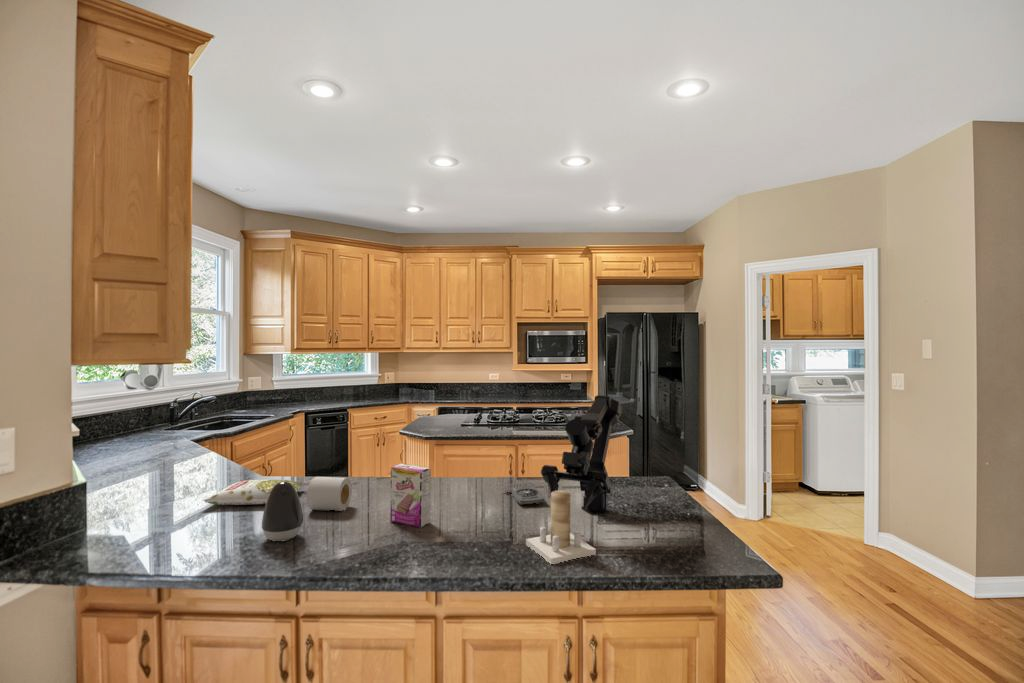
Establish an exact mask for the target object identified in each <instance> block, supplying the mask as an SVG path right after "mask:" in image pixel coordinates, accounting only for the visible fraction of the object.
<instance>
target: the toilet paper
mask: <svg viewBox="0 0 1024 683" xmlns="http://www.w3.org/2000/svg"><path fill="white" fill-rule="evenodd" d="M306 491H307V492H306V504H307V507H308V509H310V510H311V509H313V510H315V511H330V510H335V512H343V511H342V510H344V509H345V508H346V507H347V508H348V507H349V506H350V502H351V500H352V499H351V498H352V492H353V487H352V481H351V479H350V478H348V477H337V476H336V477H334V476H333V477H332V476H315V477H313V478H312V479H311V480H310V482H309V485H308V488H307V490H306ZM313 510H312V511H313ZM344 511H345V510H344Z"/></svg>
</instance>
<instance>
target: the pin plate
mask: <svg viewBox="0 0 1024 683" xmlns="http://www.w3.org/2000/svg"><path fill="white" fill-rule="evenodd" d="M581 537H582V533H581V531H574V534H573V533H571V532H570V546H569V547H566V548H559V536H553V546H552V545H551V533H550V534H547V527H545V526H540V527H539V536H536V537H535V536H534V537H529V538H525V545H526V546H527V547H528V548H529V547H530V548H529V549H530V550H532V551H533V550H534V551H535V552H534V551H533V552H534V553H535V554H537V553H538V554H539V555H540V556H539V555H538V554H537V555H538V556H539V557H541V556H542V557H543V558H544V559H545V562H547V563H548V562H549V563H550V565H551V564H553V565H556V564H560V562H562V563H565V562H564V561H566V562H569V561H568V560H571V559H576V558H580V557H585V556H586V557H585V558H588V557H587V556H589V557H592V556H591V555H594V556H596V555H597V552H596V550H597V549H596V548H595V547H593V546H592V545H590V544H588V543H587V542H586V541H584V540H582V539H581ZM542 557H541V558H542ZM543 558H542V559H543ZM544 559H543V560H544ZM580 559H581V558H580ZM576 560H577V559H576ZM571 561H572V560H571ZM549 563H548V564H549Z"/></svg>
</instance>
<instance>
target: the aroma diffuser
mask: <svg viewBox="0 0 1024 683" xmlns="http://www.w3.org/2000/svg"><path fill="white" fill-rule="evenodd" d="M303 524H304V514H303V509H302V503H301V501H300V496H299V494H298V492H297V490H295V488H294V486H293V485H292V484H291V483H289V482H285V481H283V482H279V483H277V484H276V485H275V486H274V487H273V488H272V490H271V492H270V494H269V496H268V499H267V502H266V504H264V509H263V514H262V519H261V529H262V531H263V534H264V536H265V538H266V539H268V540H269V541H271V540H272V542H275V541H282V540H287V541H289V540H288V539H290V540H292V539H293V538H295V537H296V536H297V535H298V534H299V533H300V531H301V529H302V526H303ZM291 538H292V539H291ZM282 542H283V541H282Z"/></svg>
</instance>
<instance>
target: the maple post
mask: <svg viewBox="0 0 1024 683" xmlns="http://www.w3.org/2000/svg"><path fill="white" fill-rule="evenodd" d="M571 495H572V494H571V492H569V491H566V490H558V491H553V492H551V495H550V534H551V545H552V546H553V536H559V548H566V547H569V546H570V533H571Z"/></svg>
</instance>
